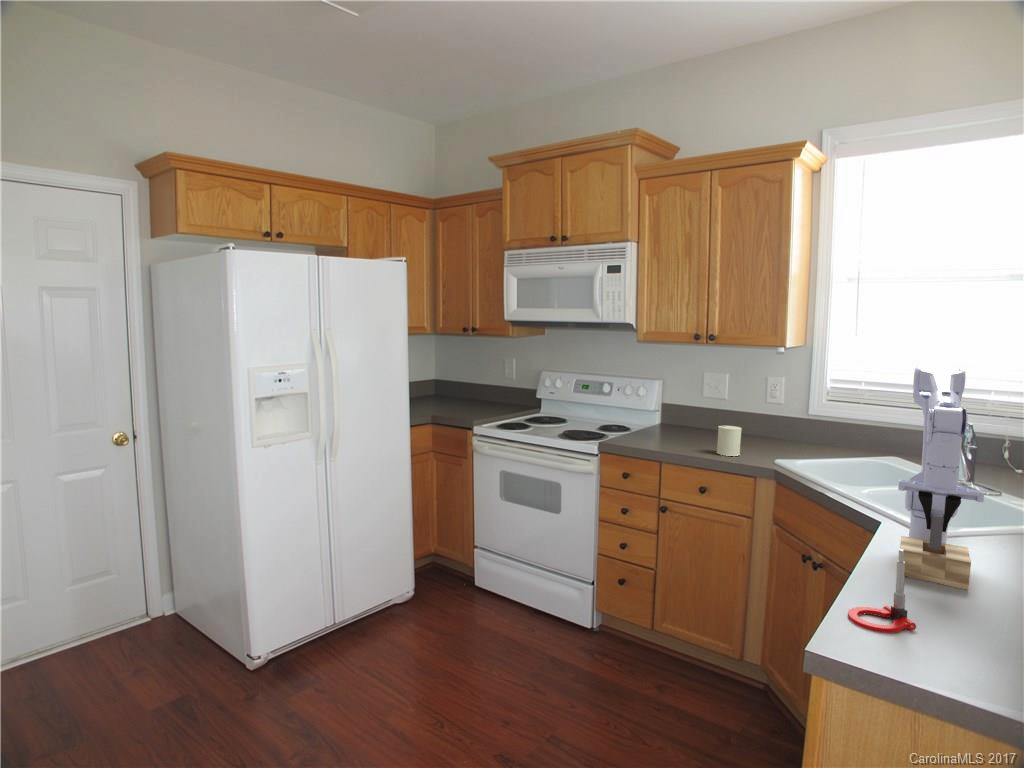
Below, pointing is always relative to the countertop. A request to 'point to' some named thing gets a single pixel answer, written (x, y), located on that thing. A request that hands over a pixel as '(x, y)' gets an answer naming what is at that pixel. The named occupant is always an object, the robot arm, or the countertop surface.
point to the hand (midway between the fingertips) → (936, 529)
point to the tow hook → (894, 612)
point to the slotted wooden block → (936, 562)
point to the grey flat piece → (936, 529)
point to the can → (729, 440)
